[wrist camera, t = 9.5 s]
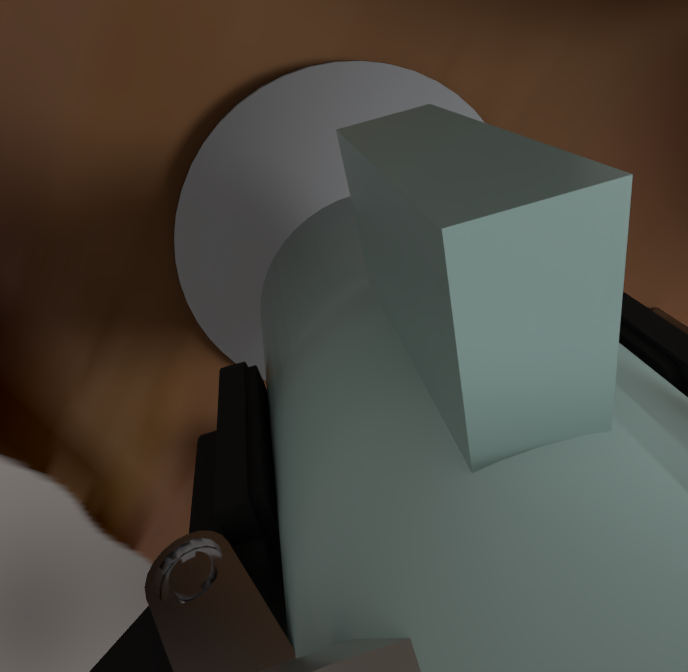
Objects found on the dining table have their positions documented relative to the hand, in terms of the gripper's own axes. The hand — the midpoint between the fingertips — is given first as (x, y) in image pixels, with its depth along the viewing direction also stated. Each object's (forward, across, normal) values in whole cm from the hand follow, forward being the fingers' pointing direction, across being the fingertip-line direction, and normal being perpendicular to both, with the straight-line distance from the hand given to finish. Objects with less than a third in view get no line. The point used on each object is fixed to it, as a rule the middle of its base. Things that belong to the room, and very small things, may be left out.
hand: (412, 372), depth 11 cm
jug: (+3, 0, -1) cm, 3 cm away
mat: (+8, 0, 0) cm, 8 cm away
